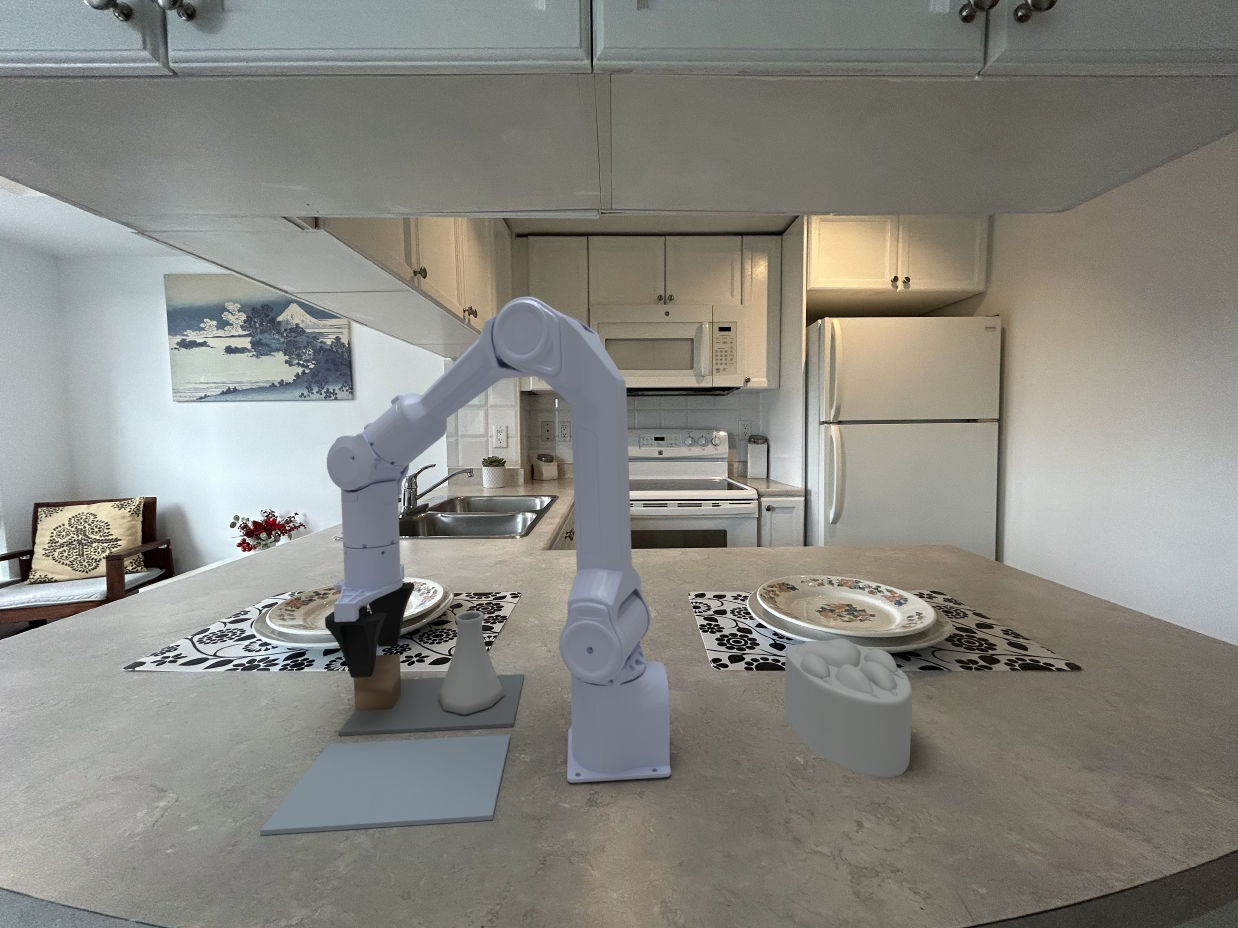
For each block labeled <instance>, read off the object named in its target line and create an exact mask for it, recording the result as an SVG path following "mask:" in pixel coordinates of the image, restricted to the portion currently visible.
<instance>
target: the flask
mask: <svg viewBox="0 0 1238 928" xmlns="http://www.w3.org/2000/svg"><path fill="white" fill-rule="evenodd" d="M453 619H454V621H455V622H456V624H457V625H456V627H457V635H456V641H455V647H454V651H453V654H452V656H451V659H450V663H449V666H448V667H447V668H448V669H447V671H446V674H445V676H444V677H445V679H444V682H443V685H442V687H441V690H440V693H439V696H438V700H439V701H440V703H441V705H442V707H443V709H444V710H447V711H451V712H456V713H460V714H464V715H466V714H469V713H472V712H476V711H479V710H482V709H485V708H489V707H491V706H492V705H493V704H495V703H496V702H497V701H498V700H499V699H500V698H501V697H503V696H504V695H505V694H504V691H503V688H502V686H501V684H500V681H499V679H498V677H497V675H498V674H497V673H496V670H495V667H494V665H493V663H492V660H491V657H490V656H489V652H488V649H487V648H486V643H485V639H484V634H483V621H484V620H485V614H484V613H483V612H482V611H479V610H478V611H477V610H467V611H462V612H460V613H458V614H456V615H454V618H453Z"/></svg>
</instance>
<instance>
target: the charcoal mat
mask: <svg viewBox="0 0 1238 928" xmlns="http://www.w3.org/2000/svg"><path fill="white" fill-rule="evenodd" d="M496 675H497V677H498V679H499V681H500V684H501V686H502V688H503V691H504V694H505V695H504V696H503V697H501V698H500V699H499V700H498V701H497V702H496V703H495V704H493V705H492V706H491V707H489V708H485V709H482V710H479V711H476V712H472V713H469V714H466V715H464V714H460V713H456V712H451V711H447V710H444V709H443V707H442V705H441V703H440V701H439V700H438V696H439V693H440V690H441V687H442V685H443V682H444V679H445V677H446V676H444V677H443V676H442V677H422V678H421V677H420V678H402V679H401V654H397V653H396V654H379V655H377V654H376V662H375V668H374V672H373V674H372V676H371V677H359V678H353V687H354V691H353V692H354V712H353V713H352V714H351V715H350V717H349V718H348V720H347V721H346V722H345V724H343V726H342V727H341V728H340V730H339V731H338V736H339V737H340V736H341V737H342V736H361V735H362V736H364V735H377V734H378V735H381V734H399V733H401V734H402V733H418V732H421V733H423V732H440V731H459V730H460V731H461V730H476V729H478V730H479V729H495V728H496V729H498V728H500V729H501V728H513V727H514V725H515V721H516V717H517V711H518V708H519V703H520V698H521V693H522V689H523V684H524V679H525V673H518V674H517V673H516V674H513V673H512V674H496Z"/></svg>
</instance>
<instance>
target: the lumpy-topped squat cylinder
mask: <svg viewBox="0 0 1238 928" xmlns="http://www.w3.org/2000/svg"><path fill="white" fill-rule="evenodd" d="M784 672H785V674H784V675H785V677H784V717H785V719H786V721H787V722H788V724H789V726H790V727H791V728H792V729H793V731H794V732H795V734H796V735H797V736H798V737H799V738H800V739H801V741H803V743H804V744H805V745H806V746H807V747H809V749H811V750H812V751H813V752H814V753H816V754H817V755H819V756H821V757H822V758H824V759H826V760H829V761H830V762H832V763H834V764H835V765H839V766H840V767H841V768H845V769H847V770H850V771H852V772H856V773H858V774H862V775H867V776H870V777H875V778H883V779H884V778H886V779H887V778H896V777H898V776H900V775H902V774H904V772H906V771H907V769H908V767H909V766H910V765H909V764H910V763H911V740H912V738H911V736H912V735H911V733H912V715H913V714H912V713H913V710H912V709H913V689H912V685H911V682H910V679H909V678H908V675H907V674H906V673H905V672H904V671H902V670H901V669H900V668H899V667H898V666H897V664H896V661H895V660H894V658H893V656H892V655H891V654H890V653H888V651H885V650H883V649H879V648H873V649H869V648H867V647H865V646H862V645H859V644H855V643H853V642H852V641H850V640H848V639H845V638H835V639H829V640H808V641H805V642H804V643H801V644H793V645H791V646H788V648H787V649H786V652H785V669H784Z"/></svg>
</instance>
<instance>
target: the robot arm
mask: <svg viewBox="0 0 1238 928" xmlns="http://www.w3.org/2000/svg"><path fill="white" fill-rule="evenodd" d="M531 377H533V378H534V377H535V378H538V379H540V380H542V381H544V382H545V383H546V384H547V385H548V386H549V387H550V388H552V390H554V391H555V392H556V393H557V394H559V395H560V396H561V397H562V398H563V399H564V400H565V401H567V402H568V404H570V416H571V417H570V419H571V421H570V422H571V444H572V469H573V470H572V471H573V473H572V475H573V496H574V497H573V498H574V499H573V500H574V501H573V502H574V523H575V524H574V527H575V549H576V550H575V552H576V555H575V556H576V574H575V576H574V581H573V584H572V586H571V589H570V592H569V595H568V597H567V601H566V602H567V616H566V620H565V623H564V626H563V627H562V630H561V632H560V634H559V642H558V644H559V645H558V646H559V653H560V656H561V660H562V661H563V663H564V665H565V667H566V668H567V669H568V671H570V690H571V691H570V693H571V694H570V697H571V698H570V700H571V701H570V702H571V703H570V704H571V708H570V709H571V713H570V714H571V726H570V727H569V729H568V730H567V731H568V733H567V734H568V735H567V765H566V770H567V771H566V780H567V782H569V783H571V784H575V783H589V782H590V783H591V782H605V781H619V780H620V781H622V780H636V779H637V780H638V779H651V778H652V779H654V778H655V779H656V778H668V777H669V776H671V774H672V769H671V765H670V759H671V757H670V756H671V755H670V753H671V752H670V750H671V749H670V747H671V746H670V745H671V744H670V742H671V741H670V739H671V737H670V735H671V734H670V731H671V728H670V725H671V724H670V723H671V722H670V718H671V717H670V715H671V713H670V711H671V708H670V707H671V705H670V703H671V702H670V692H669V691H670V690H669V688H670V687H669V680H668V676H667V671H666V666H665V664H664V663H663V662H659V661H651V660H647V659H646V658H645V654H644V651H643V647H642V646H641V640H643V638H644V637H645V636H646V635H647V633H648V631H649V629H650V626H651V621H652V618H651V616H652V615H651V610H650V608H649V607H650V606H649V604H648V602H647V601H646V598H645V597H644V594H643V591H642V585H641V583H642V579H641V576H640V574H639V572H638V571H637V570H636V569H635V568H634V567H633V561H632V535H631V534H632V533H631V532H632V530H631V526H632V525H631V503H630V502H631V501H630V492H631V491H630V470H629V469H630V468H629V467H630V465H629V438H628V437H629V434H628V433H629V432H628V430H629V429H628V406H627V405H628V399H627V386H626V380H625V377H624V376H623V375H622V373H621V372H620V370H619V368H618V367H617V365H616V363H615V362H614V361H613V359H612V357H611V356H610V354H609V353H608V351H607V349H606V348H605V346H604V345H603V343H602V341H601V338H600V334H599V333H597V332H596V331H595V330H594V329H592V328H591V327H590V326H588V325H587V324H585V323H583V321H581V320H579V319H577V318H574V317H572V316H568V315H567V314H565V313H562V312H560V311H558V310H556V309H554V308H553V307H551V306H550V305H548V304H547V303H546V302H544V301H542V300H540V299H538V298H536V297H532V296H521V297H517V298H514V299H512V300H510V301H508V302H507V303H506V304H505V305H504V306H503V307H502V308H501V310H499V312H498V314H497V315H496V314H495V315H493V316H491V317H490V318H488V319H486V321H485V322H484V323H483V326H482V328H481V332H480V334H479V336H478V338H477V339H476V341H474V343H473V344H472V345H470V346H469V348H468V349H466V351H465V352H464V353H463V354H461V355H460V356H459V357H458V359H457V360H456V361H455V362H454V363H452V364H451V366H450V367H448V368H447V370H446V371H445V372H443V374H442V375H440V377H439V378H438V379H437V380H435V381H434V382H433V384H432V385H431V386H430V387H429V388H428V389H426V391H424V393H422V394H419V393H414V392H409V393H406V394H404V395H400V394H397V395H396V396H395V397H393V399H391V400H390V404H391V406H390V407H389V408H388V409H387V410H386V411H384V413H383V414H380V416H379V417H378V418H376V419H375V420H374V421H373V422H368V423H367V424H366V425H365V426H364V427H363V429H364V430H363V431H361V433H360V432H358V433H357V434H356V435H341V436H338V437H337V438H336V439H335V441H334V442H333V444H331V446H330V448H329V450H328V452H327V456H326V469H327V473H328V476H329V477H330V480H331V482H333V484H334V485H335V486H336V487H338V488H339V489H340V497H341V498H340V499H341V500H340V501H341V502H340V503H341V523H342V524H341V525H342V526H341V527H342V528H341V529H342V549H343V573H344V575H343V576H344V579H340V580H338V581H336V582H335V583H334V584H333V590H335V591H340V594H339V598H338V599H337V600H336V601H335V602H334V603H333V611H331V613H329V614H328V615H326V616H325V617H324V626H325V629H327V631H329V633H330V634H331V635H332V636H333V638H334V640H336V642H337V645H338V646H339V648H340V650H341V653H342V656H343V657H344V662H345V663H346V667H347V669H348V672H349V675H350V678H352V679H354V678H359V677H371V676H372V674H373V672H374V668H375V662H376V655H377V651H378V649H377V648H378V647H379V648H381V647H382V648H383V647H397V646H398V644H399V640H400V637H401V632H402V627H403V622H404V616H405V612H406V610H407V606H408V603H409V601H410V598H411V595H413V591H414V590H415V584H414V582H411V581H410V582H403V581H404V579H405V564H404V563H401V552H400V551H401V550H400V549H401V546H400V520H399V518H400V517H399V499H400V497H401V495H402V493H403V492H402V491H403V490H402V485H403V481H404V480H405V478H406V477H407V476H408V473H409V469H410V464H411V463H412V462H413V461H414V460H416V459H417V458H418V457H419V456H421V455H422V454H423V453H424V452H425V451H427V450H428V449H429V448H431V446H433V445H434V444H435V443H436V442H438V441H439V440H440V439H442V438H443V437H444V436H445V435H446V432H447V428H448V425H447V423H448V422H447V419H449V418H450V417H452V415H453V414H454V415H455V413H456V412H458V411H459V410H461V409H462V408H464V407H465V406H466V405H468V404H469V403H470V402H472V401H473V400H474V399H476V398H477V397H478V396H481V395H482V394H483V393H484V392H485V391H487V390H488V389H489V388H491V387H492V386H494V385H495V384H496V383H498V382H499V381H501V380H502V379H512V378H513V379H515V378H531ZM368 606H369V610H368Z"/></svg>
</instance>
